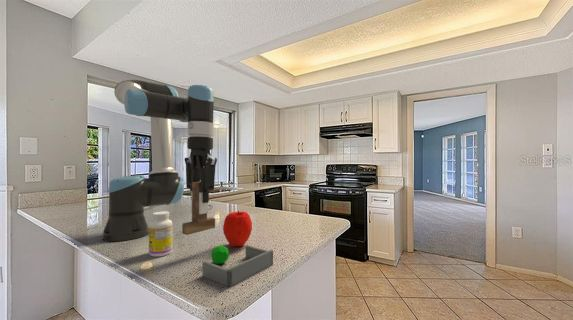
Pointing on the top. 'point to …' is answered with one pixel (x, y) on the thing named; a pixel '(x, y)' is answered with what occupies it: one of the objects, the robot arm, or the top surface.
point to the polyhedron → (220, 254)
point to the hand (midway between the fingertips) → (199, 212)
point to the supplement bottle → (160, 235)
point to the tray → (239, 267)
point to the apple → (237, 228)
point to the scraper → (197, 215)
